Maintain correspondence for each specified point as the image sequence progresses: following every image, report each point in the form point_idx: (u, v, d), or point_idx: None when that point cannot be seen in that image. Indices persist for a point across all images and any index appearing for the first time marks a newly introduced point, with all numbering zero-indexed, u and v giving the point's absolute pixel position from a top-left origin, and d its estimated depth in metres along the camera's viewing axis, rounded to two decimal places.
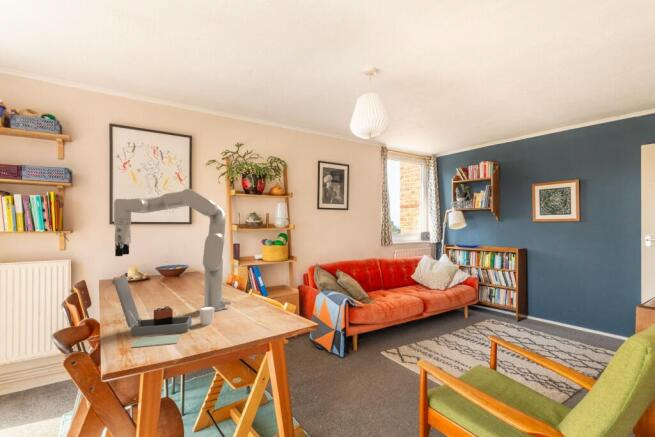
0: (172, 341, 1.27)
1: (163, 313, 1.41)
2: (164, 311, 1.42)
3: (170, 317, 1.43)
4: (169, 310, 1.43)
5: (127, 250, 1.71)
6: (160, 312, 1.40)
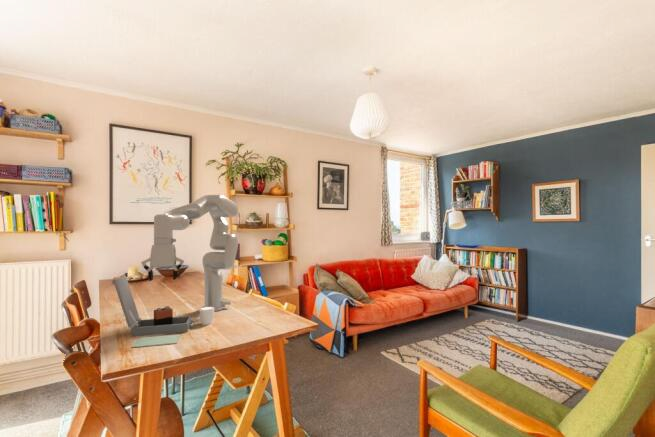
0: (172, 341, 1.27)
1: (163, 313, 1.41)
2: (164, 311, 1.42)
3: (170, 317, 1.43)
4: (169, 310, 1.43)
5: (152, 275, 1.43)
6: (160, 312, 1.40)
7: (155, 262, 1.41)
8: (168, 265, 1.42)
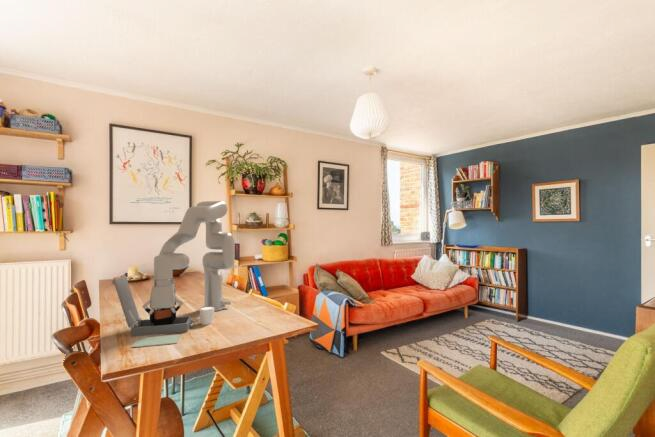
0: (172, 341, 1.27)
1: (163, 313, 1.41)
2: (164, 311, 1.42)
3: (170, 317, 1.43)
4: (169, 310, 1.43)
5: None
6: (160, 312, 1.40)
7: (155, 304, 1.40)
8: (168, 307, 1.42)
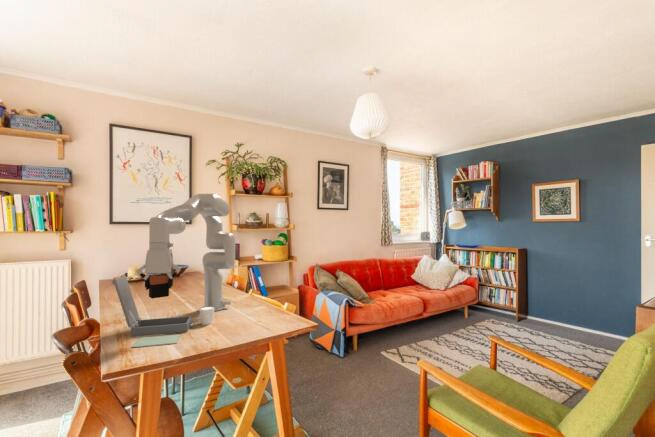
0: (172, 341, 1.27)
1: (159, 278, 1.32)
2: (160, 276, 1.32)
3: (166, 283, 1.34)
4: (165, 276, 1.33)
5: None
6: (156, 277, 1.31)
7: (150, 268, 1.31)
8: (165, 272, 1.32)
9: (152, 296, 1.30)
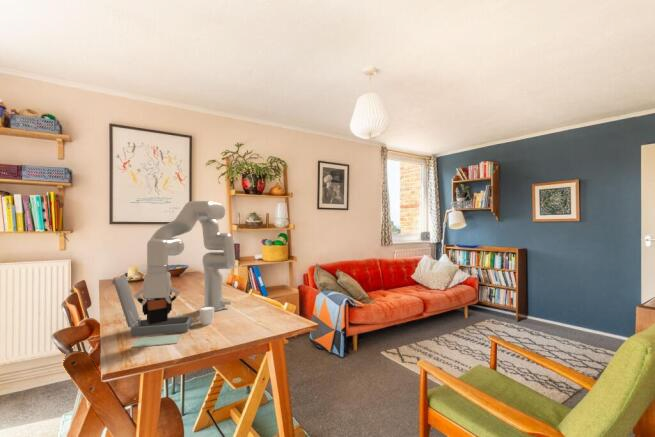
0: (172, 341, 1.27)
1: (157, 303, 1.27)
2: (158, 301, 1.27)
3: (165, 308, 1.29)
4: (164, 300, 1.29)
5: None
6: (154, 302, 1.26)
7: (148, 293, 1.26)
8: (163, 297, 1.28)
9: (150, 322, 1.25)
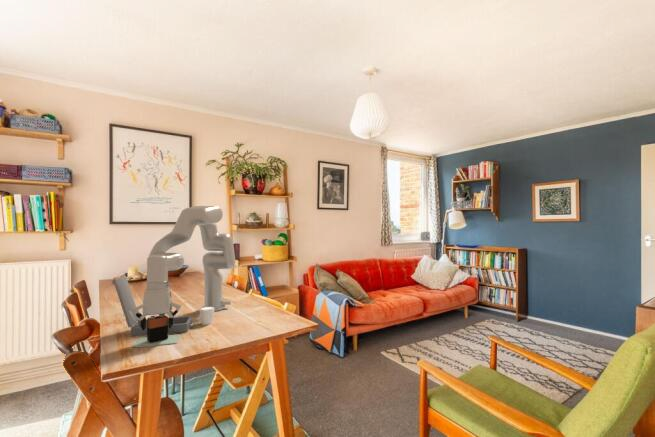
0: (172, 341, 1.27)
1: (157, 321, 1.27)
2: (158, 319, 1.28)
3: (165, 326, 1.29)
4: (164, 318, 1.29)
5: (145, 323, 1.29)
6: (154, 320, 1.27)
7: (148, 309, 1.26)
8: (163, 312, 1.28)
9: (150, 340, 1.26)
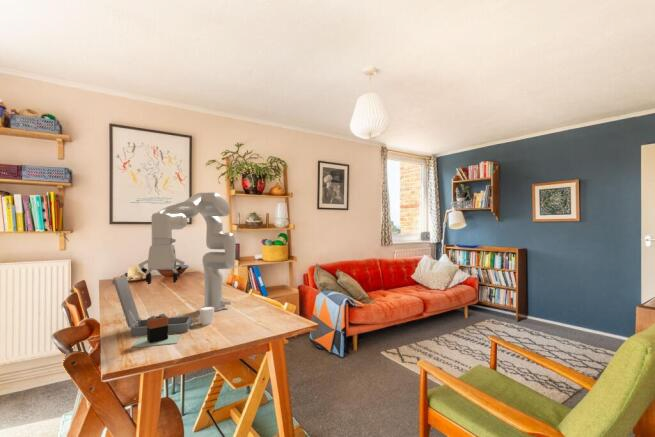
0: (172, 341, 1.27)
1: (157, 321, 1.27)
2: (159, 319, 1.28)
3: (165, 326, 1.29)
4: (164, 318, 1.29)
5: (150, 278, 1.34)
6: (154, 321, 1.26)
7: (153, 264, 1.31)
8: (168, 268, 1.33)
9: (150, 341, 1.26)
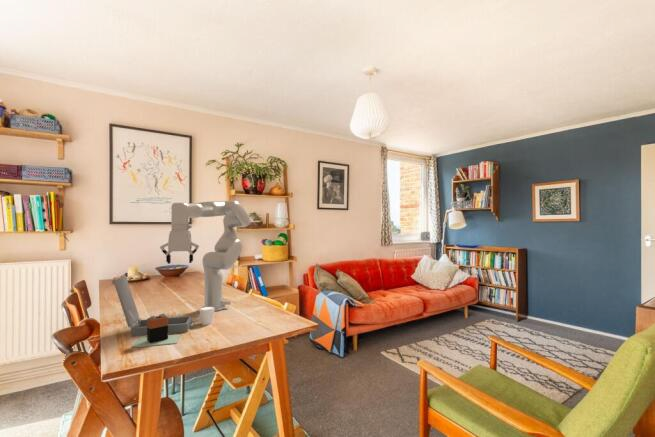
0: (172, 341, 1.27)
1: (157, 321, 1.27)
2: (159, 319, 1.28)
3: (165, 326, 1.29)
4: (164, 318, 1.29)
5: (170, 258, 1.55)
6: (154, 321, 1.26)
7: (173, 246, 1.53)
8: (185, 250, 1.54)
9: (150, 341, 1.26)
